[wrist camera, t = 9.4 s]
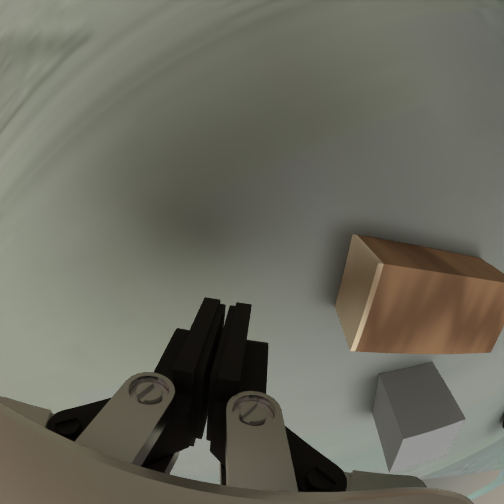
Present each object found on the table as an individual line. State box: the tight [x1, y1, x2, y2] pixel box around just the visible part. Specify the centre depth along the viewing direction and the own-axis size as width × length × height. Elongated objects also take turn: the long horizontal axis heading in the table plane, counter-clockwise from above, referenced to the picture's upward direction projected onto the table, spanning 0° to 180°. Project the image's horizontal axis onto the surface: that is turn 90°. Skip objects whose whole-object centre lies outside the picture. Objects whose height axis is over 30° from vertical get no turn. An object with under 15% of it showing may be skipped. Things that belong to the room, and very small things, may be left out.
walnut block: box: [335, 234, 504, 354], centre depth 16 cm, size 5×5×11 cm
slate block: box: [372, 362, 465, 473], centre depth 18 cm, size 5×5×7 cm
